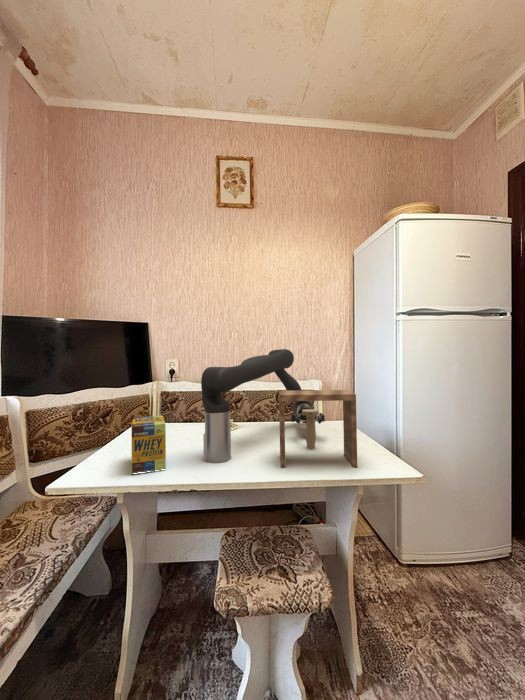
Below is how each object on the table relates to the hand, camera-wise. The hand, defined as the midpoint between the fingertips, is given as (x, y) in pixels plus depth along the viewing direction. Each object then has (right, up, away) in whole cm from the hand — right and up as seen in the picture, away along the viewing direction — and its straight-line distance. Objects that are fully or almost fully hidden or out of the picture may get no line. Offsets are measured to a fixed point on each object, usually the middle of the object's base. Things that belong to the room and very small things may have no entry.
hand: (309, 421), depth 122 cm
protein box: (-59, -11, -20) cm, 63 cm away
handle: (0, -10, -5) cm, 11 cm away
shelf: (-1, -9, -19) cm, 21 cm away
